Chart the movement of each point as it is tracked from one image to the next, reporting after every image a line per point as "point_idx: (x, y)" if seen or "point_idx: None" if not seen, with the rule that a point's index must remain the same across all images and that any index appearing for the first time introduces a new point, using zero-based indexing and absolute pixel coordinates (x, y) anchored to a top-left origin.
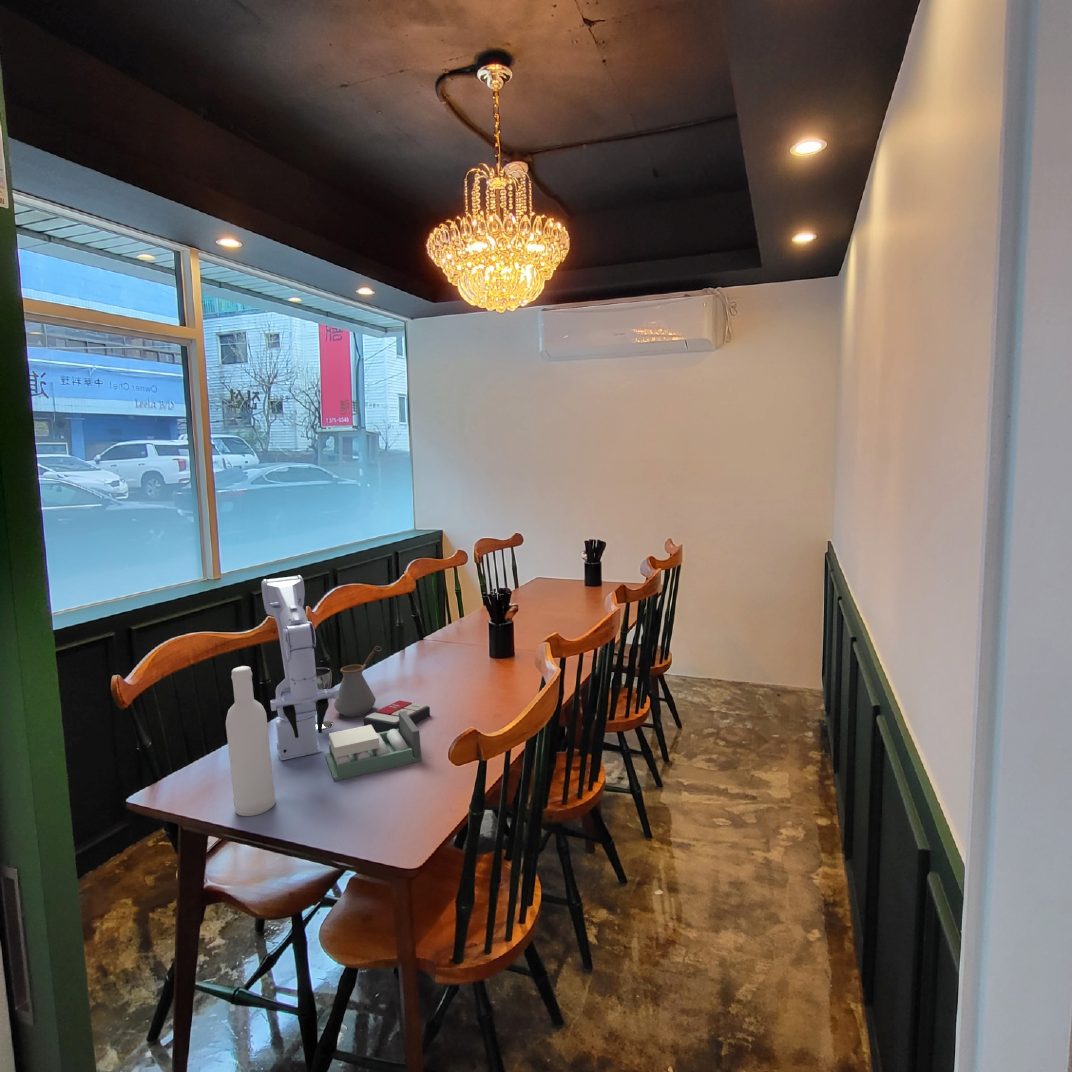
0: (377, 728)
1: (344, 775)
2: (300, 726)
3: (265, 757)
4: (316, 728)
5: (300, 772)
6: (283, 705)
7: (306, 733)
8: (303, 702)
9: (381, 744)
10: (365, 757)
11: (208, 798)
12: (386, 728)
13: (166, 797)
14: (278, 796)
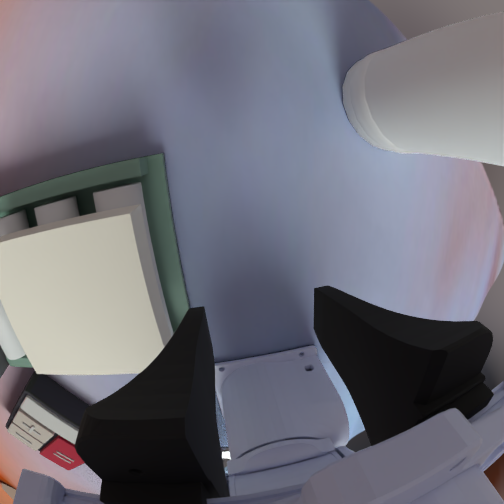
0: (79, 410)
1: (127, 160)
2: (278, 424)
3: (460, 26)
4: (227, 452)
5: (269, 262)
6: (484, 415)
7: (255, 407)
8: (467, 428)
9: None
10: (47, 204)
11: (455, 208)
12: (54, 397)
13: (489, 248)
14: (333, 128)
